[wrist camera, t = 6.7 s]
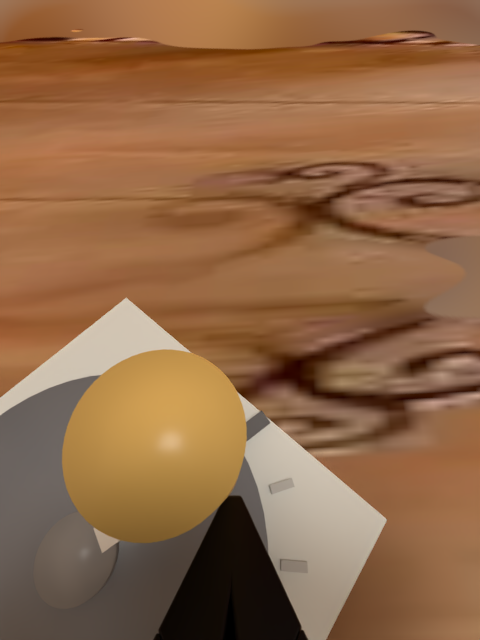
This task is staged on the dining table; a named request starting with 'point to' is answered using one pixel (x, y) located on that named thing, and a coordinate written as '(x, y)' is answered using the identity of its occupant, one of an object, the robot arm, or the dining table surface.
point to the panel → (268, 471)
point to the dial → (115, 495)
